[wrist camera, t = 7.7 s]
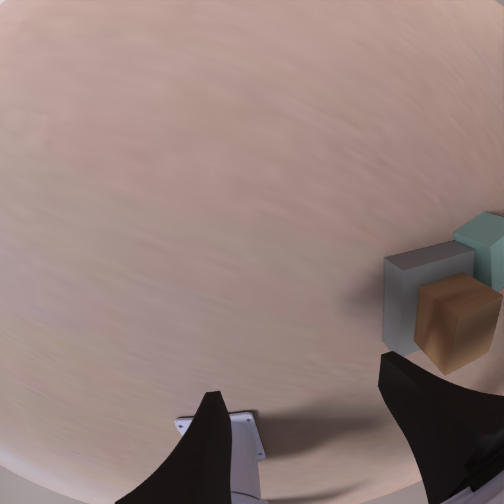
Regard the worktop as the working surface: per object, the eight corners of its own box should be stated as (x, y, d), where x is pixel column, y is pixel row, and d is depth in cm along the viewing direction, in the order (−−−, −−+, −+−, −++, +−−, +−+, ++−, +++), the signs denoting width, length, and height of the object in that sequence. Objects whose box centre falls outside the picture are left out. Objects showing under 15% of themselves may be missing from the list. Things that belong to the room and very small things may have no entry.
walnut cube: (455, 323, 20) (488, 351, 15) (413, 340, 20) (444, 375, 15) (462, 272, 18) (502, 295, 14) (418, 286, 18) (458, 317, 14)
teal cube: (488, 255, 22) (520, 270, 17) (459, 277, 22) (491, 297, 17) (483, 211, 20) (519, 222, 15) (452, 232, 21) (490, 246, 16)
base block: (447, 316, 23) (463, 330, 20) (382, 340, 23) (396, 358, 20) (454, 240, 21) (475, 249, 18) (383, 257, 21) (402, 270, 18)
